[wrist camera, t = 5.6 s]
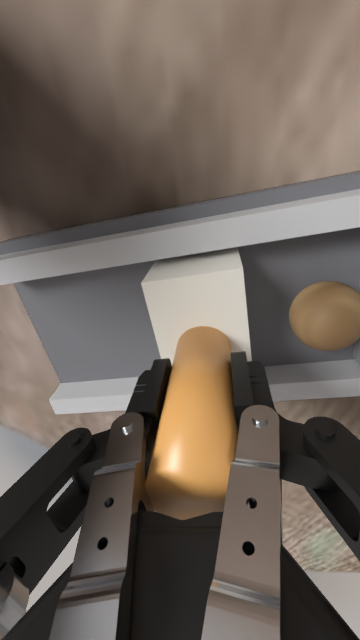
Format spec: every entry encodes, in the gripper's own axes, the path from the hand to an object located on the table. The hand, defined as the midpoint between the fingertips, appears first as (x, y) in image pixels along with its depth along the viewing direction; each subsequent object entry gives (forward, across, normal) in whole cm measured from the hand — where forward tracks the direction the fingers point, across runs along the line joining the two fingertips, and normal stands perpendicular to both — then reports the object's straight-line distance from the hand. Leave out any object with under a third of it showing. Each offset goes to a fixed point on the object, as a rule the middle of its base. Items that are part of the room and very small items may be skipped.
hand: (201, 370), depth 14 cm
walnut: (+6, -7, 0) cm, 9 cm away
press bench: (+8, 0, 0) cm, 8 cm away
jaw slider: (+6, 0, 0) cm, 6 cm away
